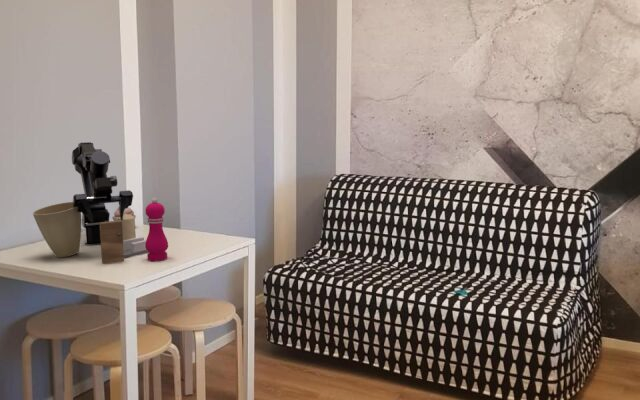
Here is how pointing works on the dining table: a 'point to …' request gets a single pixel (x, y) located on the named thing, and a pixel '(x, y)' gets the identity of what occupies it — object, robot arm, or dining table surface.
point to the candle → (128, 226)
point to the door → (111, 242)
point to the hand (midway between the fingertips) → (107, 220)
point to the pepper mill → (156, 232)
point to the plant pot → (60, 227)
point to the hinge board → (134, 247)
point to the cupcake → (126, 211)
